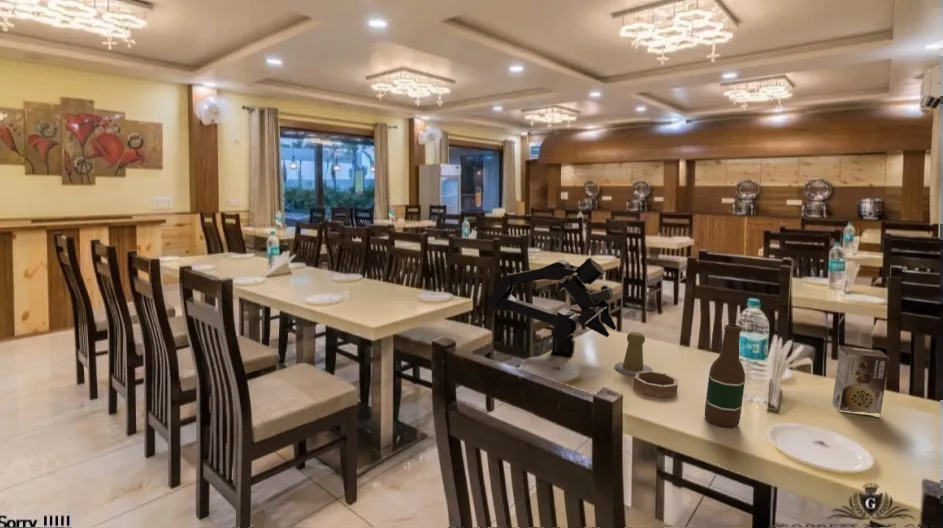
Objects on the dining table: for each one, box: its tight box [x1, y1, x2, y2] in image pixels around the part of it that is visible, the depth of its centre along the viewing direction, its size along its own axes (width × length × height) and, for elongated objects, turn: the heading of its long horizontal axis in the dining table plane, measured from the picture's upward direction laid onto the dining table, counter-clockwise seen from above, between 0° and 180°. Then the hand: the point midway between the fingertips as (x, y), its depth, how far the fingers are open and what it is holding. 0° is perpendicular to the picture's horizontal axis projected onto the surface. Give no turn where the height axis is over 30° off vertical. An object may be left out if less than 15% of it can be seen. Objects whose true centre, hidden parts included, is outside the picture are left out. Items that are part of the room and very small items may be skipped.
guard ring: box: [632, 370, 679, 398], centre depth 146 cm, size 11×11×3 cm
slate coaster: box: [614, 361, 654, 377], centre depth 160 cm, size 11×11×1 cm
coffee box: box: [831, 345, 890, 414], centre depth 136 cm, size 9×6×16 cm
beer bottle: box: [704, 323, 746, 429], centre depth 125 cm, size 8×8×24 cm
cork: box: [623, 331, 646, 371], centre depth 160 cm, size 6×6×11 cm
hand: (611, 332), depth 164 cm, fingers open, 9 cm apart
